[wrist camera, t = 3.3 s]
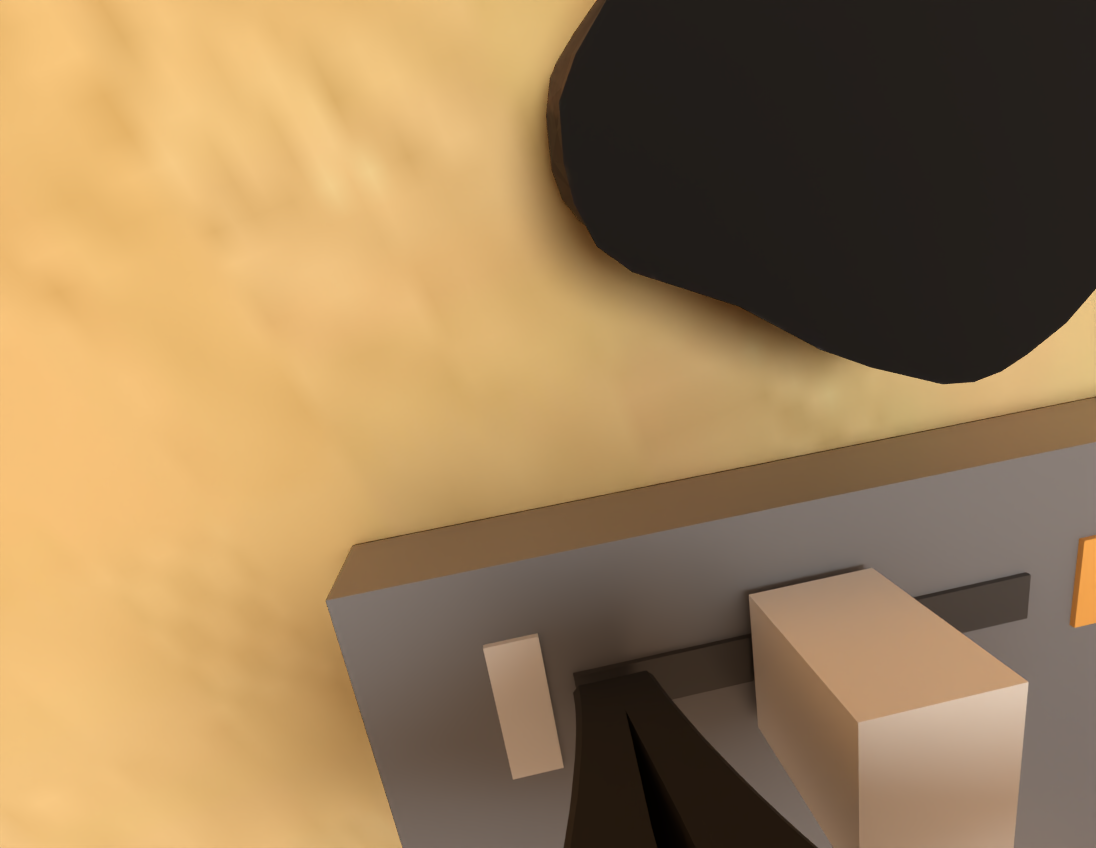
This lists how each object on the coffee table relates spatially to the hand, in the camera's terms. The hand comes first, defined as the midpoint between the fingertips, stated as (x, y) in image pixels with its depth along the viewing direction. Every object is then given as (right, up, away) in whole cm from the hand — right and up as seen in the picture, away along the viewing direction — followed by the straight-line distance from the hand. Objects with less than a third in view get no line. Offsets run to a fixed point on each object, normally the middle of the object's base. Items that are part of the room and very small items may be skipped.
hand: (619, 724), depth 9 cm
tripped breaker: (+4, +1, +1) cm, 4 cm away
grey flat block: (+4, -2, +4) cm, 6 cm away
